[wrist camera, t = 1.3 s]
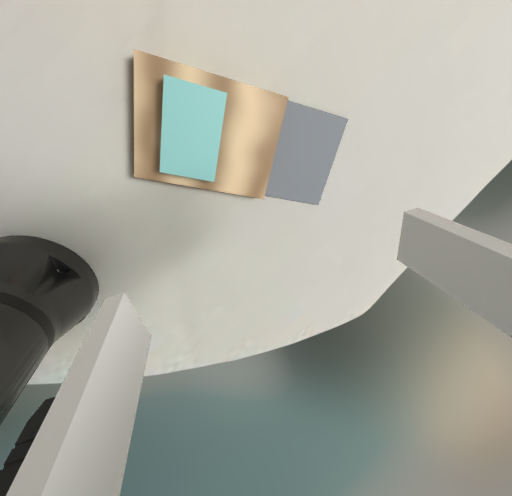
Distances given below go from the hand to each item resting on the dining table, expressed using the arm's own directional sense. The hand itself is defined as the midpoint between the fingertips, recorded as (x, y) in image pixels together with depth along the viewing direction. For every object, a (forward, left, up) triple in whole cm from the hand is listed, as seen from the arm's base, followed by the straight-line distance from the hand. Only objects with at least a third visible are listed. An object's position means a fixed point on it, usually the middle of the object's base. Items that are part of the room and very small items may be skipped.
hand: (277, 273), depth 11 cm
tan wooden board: (-3, +4, -24) cm, 24 cm away
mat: (+10, +4, -24) cm, 26 cm away
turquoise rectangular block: (-5, +4, -21) cm, 22 cm away
